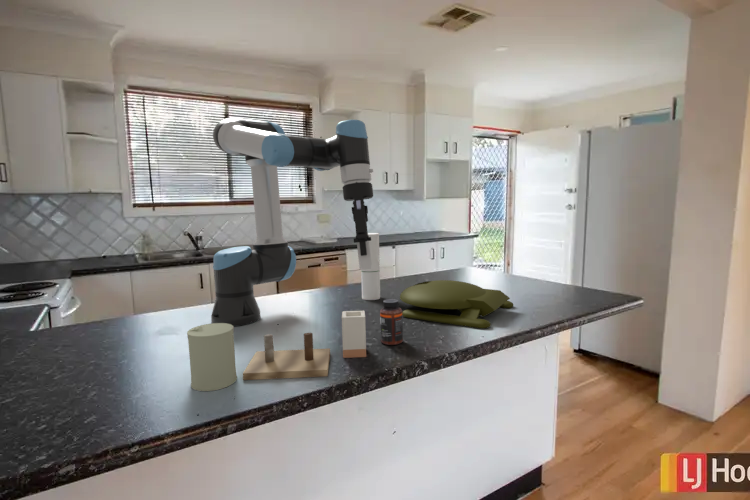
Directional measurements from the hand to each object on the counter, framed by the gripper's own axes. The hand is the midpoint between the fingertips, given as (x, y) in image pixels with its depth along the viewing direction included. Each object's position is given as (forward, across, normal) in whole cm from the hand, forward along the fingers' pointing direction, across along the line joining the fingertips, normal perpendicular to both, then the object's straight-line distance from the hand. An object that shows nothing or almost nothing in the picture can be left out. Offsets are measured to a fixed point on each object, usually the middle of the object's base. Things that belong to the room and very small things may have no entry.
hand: (366, 267), depth 105 cm
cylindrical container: (+16, +56, +1) cm, 58 cm away
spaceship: (+20, +35, -26) cm, 48 cm away
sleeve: (+21, -2, +5) cm, 21 cm away
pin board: (+20, -10, +20) cm, 30 cm away
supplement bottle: (+21, +5, -4) cm, 22 cm away
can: (+20, -17, +34) cm, 43 cm away
